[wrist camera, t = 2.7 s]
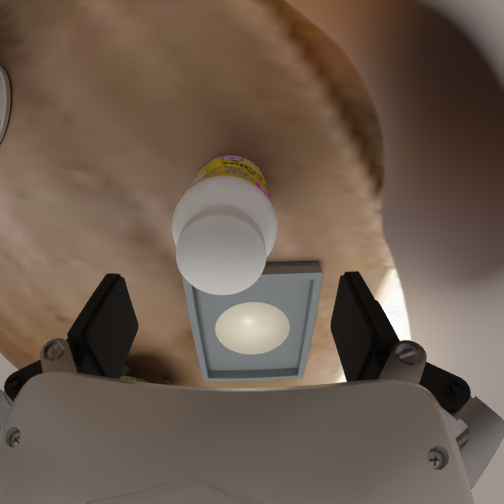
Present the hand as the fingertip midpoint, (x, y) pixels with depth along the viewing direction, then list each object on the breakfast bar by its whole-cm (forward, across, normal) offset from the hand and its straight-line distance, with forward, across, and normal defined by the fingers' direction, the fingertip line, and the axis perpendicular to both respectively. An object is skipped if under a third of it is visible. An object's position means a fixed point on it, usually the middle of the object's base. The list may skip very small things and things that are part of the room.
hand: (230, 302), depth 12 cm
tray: (+16, -1, +17) cm, 23 cm away
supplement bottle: (+16, +1, 0) cm, 16 cm away
